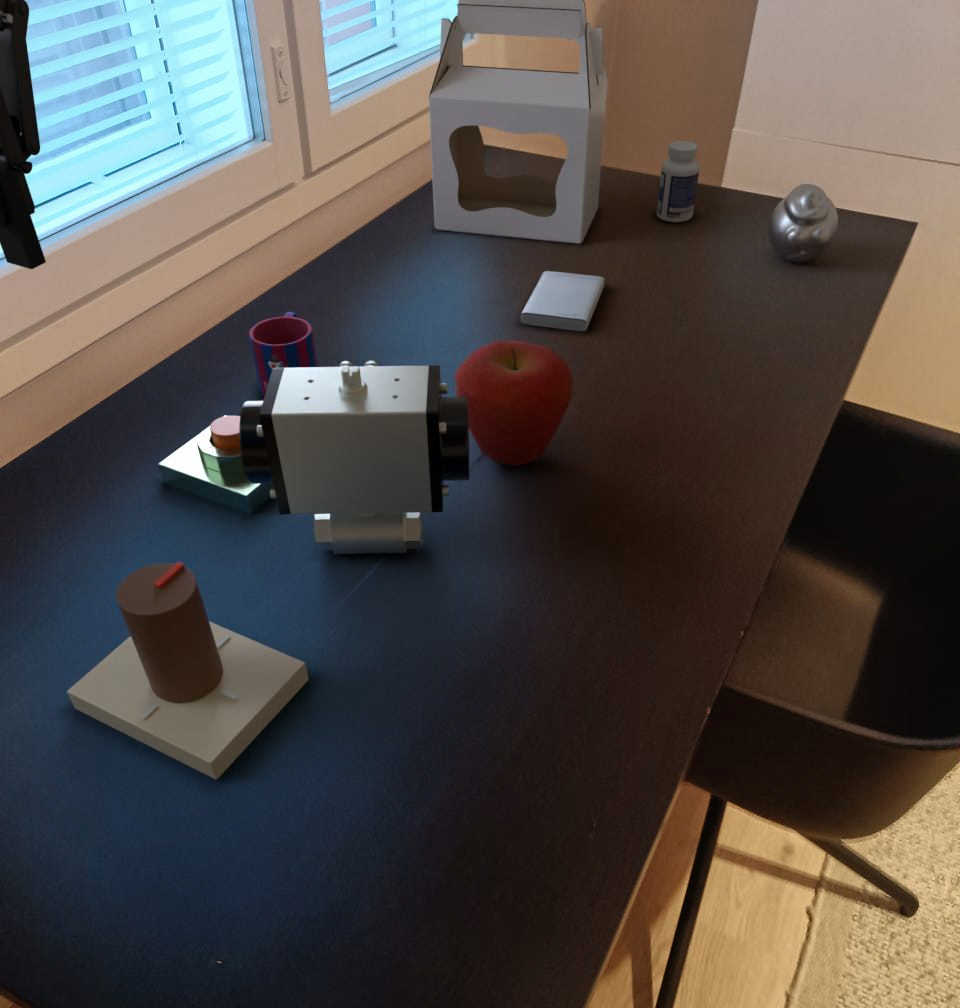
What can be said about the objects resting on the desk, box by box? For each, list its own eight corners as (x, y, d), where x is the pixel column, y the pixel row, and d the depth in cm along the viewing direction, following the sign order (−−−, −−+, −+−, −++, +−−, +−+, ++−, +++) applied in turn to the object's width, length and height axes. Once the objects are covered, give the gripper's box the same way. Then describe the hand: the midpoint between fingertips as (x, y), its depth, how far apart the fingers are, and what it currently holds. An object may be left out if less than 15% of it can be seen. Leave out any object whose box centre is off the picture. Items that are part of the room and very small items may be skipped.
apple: (466, 495, 89) (463, 382, 81) (451, 434, 97) (447, 325, 88) (578, 483, 90) (587, 371, 82) (555, 424, 98) (560, 315, 89)
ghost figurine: (747, 262, 126) (763, 185, 119) (781, 240, 131) (798, 165, 124) (808, 281, 122) (828, 202, 114) (841, 258, 127) (862, 180, 119)
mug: (252, 401, 102) (240, 343, 97) (279, 356, 109) (268, 301, 104) (311, 405, 101) (302, 347, 96) (334, 360, 108) (326, 304, 103)
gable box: (432, 230, 135) (422, 0, 115) (457, 197, 144) (452, -22, 124) (583, 245, 130) (599, 9, 111) (599, 210, 139) (617, -14, 119)
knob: (191, 712, 68) (158, 621, 61) (135, 687, 69) (97, 596, 63) (237, 665, 71) (211, 573, 64) (183, 642, 73) (152, 550, 66)
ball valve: (470, 512, 87) (466, 336, 75) (471, 571, 81) (466, 391, 69) (280, 515, 87) (244, 340, 75) (266, 575, 81) (225, 395, 69)
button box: (163, 482, 91) (152, 447, 89) (229, 433, 97) (221, 399, 95) (251, 514, 88) (242, 479, 85) (313, 461, 94) (308, 427, 91)
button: (205, 445, 89) (201, 429, 88) (229, 427, 92) (226, 411, 90) (234, 455, 88) (231, 439, 87) (258, 436, 90) (255, 421, 89)
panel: (74, 708, 71) (65, 689, 69) (173, 620, 77) (167, 601, 76) (216, 780, 66) (209, 761, 64) (308, 679, 73) (305, 660, 71)
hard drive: (587, 319, 111) (605, 275, 120) (520, 312, 113) (543, 268, 121) (586, 332, 112) (604, 288, 121) (520, 324, 114) (542, 281, 122)
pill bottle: (699, 215, 137) (710, 144, 131) (678, 226, 135) (688, 154, 128) (669, 206, 140) (678, 136, 133) (648, 216, 137) (656, 145, 130)
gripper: (-62, -137, 62) (53, 224, 79) (-248, -112, 54) (-75, 284, 71) (19, -129, 59) (120, 241, 76) (-163, -101, 51) (-5, 306, 68)
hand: (26, 262), depth 73 cm, fingers closed
